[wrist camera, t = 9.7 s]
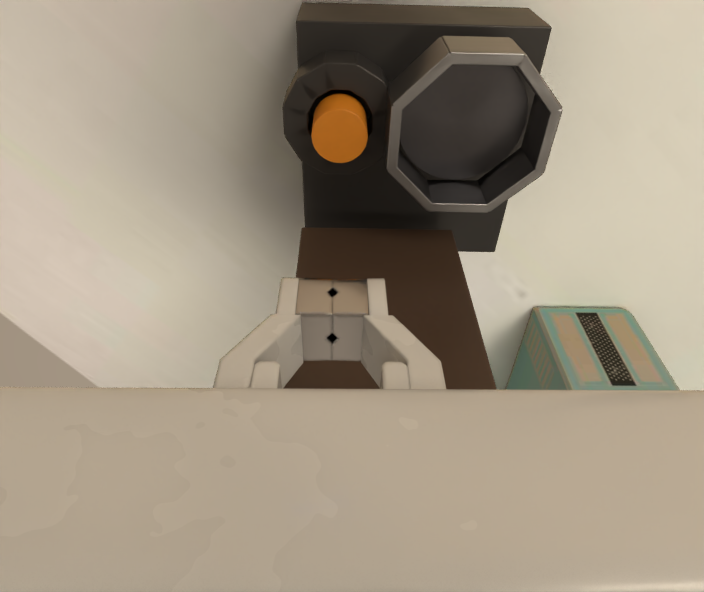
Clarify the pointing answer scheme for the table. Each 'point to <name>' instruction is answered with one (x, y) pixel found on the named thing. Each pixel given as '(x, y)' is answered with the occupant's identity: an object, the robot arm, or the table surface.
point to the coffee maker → (439, 198)
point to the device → (587, 353)
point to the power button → (339, 128)
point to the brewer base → (371, 91)
